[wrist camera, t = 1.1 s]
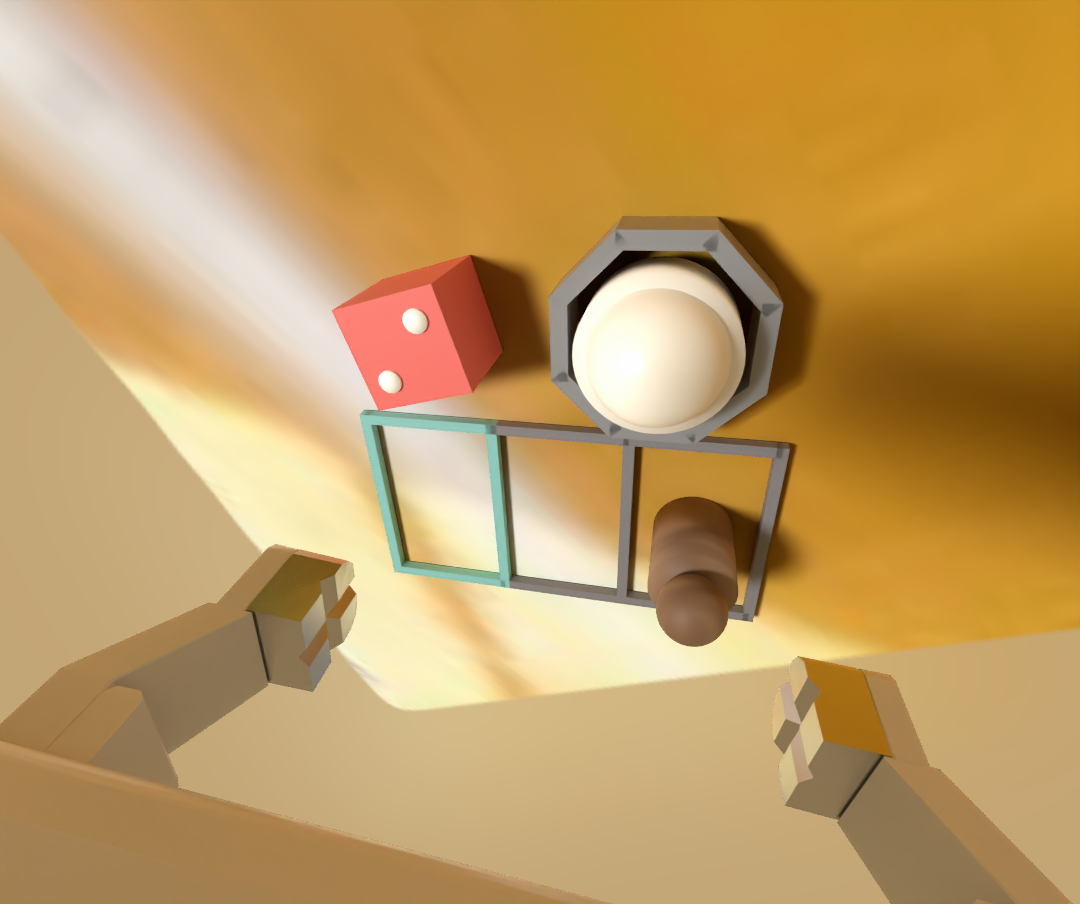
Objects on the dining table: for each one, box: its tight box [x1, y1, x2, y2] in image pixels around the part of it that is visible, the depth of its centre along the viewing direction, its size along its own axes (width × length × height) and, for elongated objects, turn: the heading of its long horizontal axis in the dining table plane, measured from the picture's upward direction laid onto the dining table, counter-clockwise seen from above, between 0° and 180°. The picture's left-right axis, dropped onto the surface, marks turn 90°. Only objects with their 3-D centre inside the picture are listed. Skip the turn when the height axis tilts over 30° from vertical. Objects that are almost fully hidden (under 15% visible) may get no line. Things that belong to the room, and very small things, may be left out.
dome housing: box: [549, 217, 784, 444], centre depth 27 cm, size 10×10×3 cm
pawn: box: [648, 497, 738, 647], centre depth 30 cm, size 4×4×8 cm
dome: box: [572, 257, 746, 434], centre depth 24 cm, size 7×7×6 cm
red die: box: [332, 255, 503, 411], centre depth 28 cm, size 5×5×5 cm
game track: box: [360, 410, 790, 622], centre depth 35 cm, size 23×12×1 cm, turn 92°
